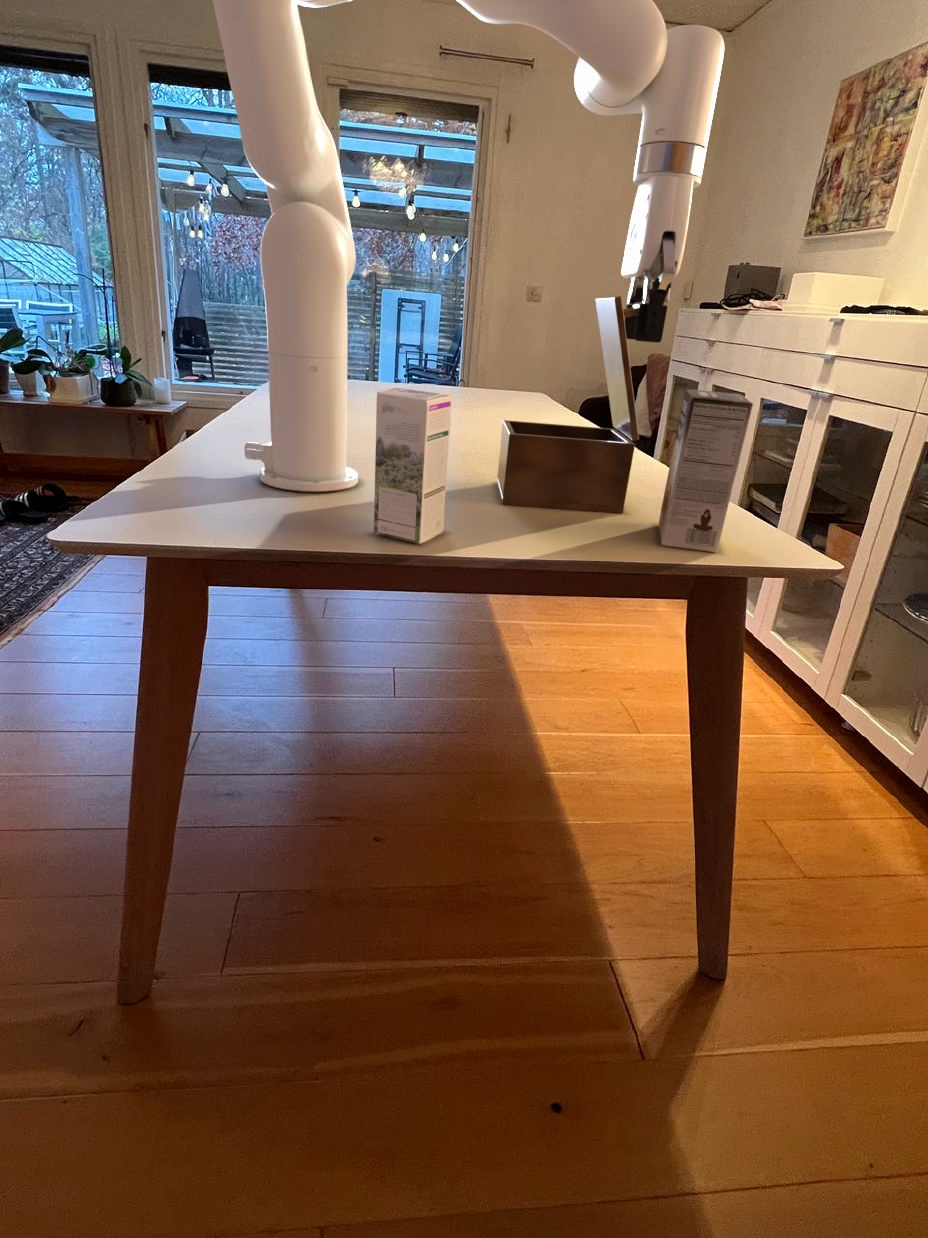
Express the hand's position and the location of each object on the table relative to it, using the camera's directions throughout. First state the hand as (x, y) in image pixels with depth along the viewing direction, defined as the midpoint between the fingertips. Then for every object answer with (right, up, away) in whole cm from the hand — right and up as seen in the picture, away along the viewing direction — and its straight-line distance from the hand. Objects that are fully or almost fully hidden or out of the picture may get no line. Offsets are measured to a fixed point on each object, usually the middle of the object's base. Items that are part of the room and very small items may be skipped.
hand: (640, 338), depth 86 cm
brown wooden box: (-9, -18, +8) cm, 22 cm away
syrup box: (-28, -26, -12) cm, 40 cm away
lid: (-3, -3, +1) cm, 5 cm away
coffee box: (+4, -25, -5) cm, 26 cm away
